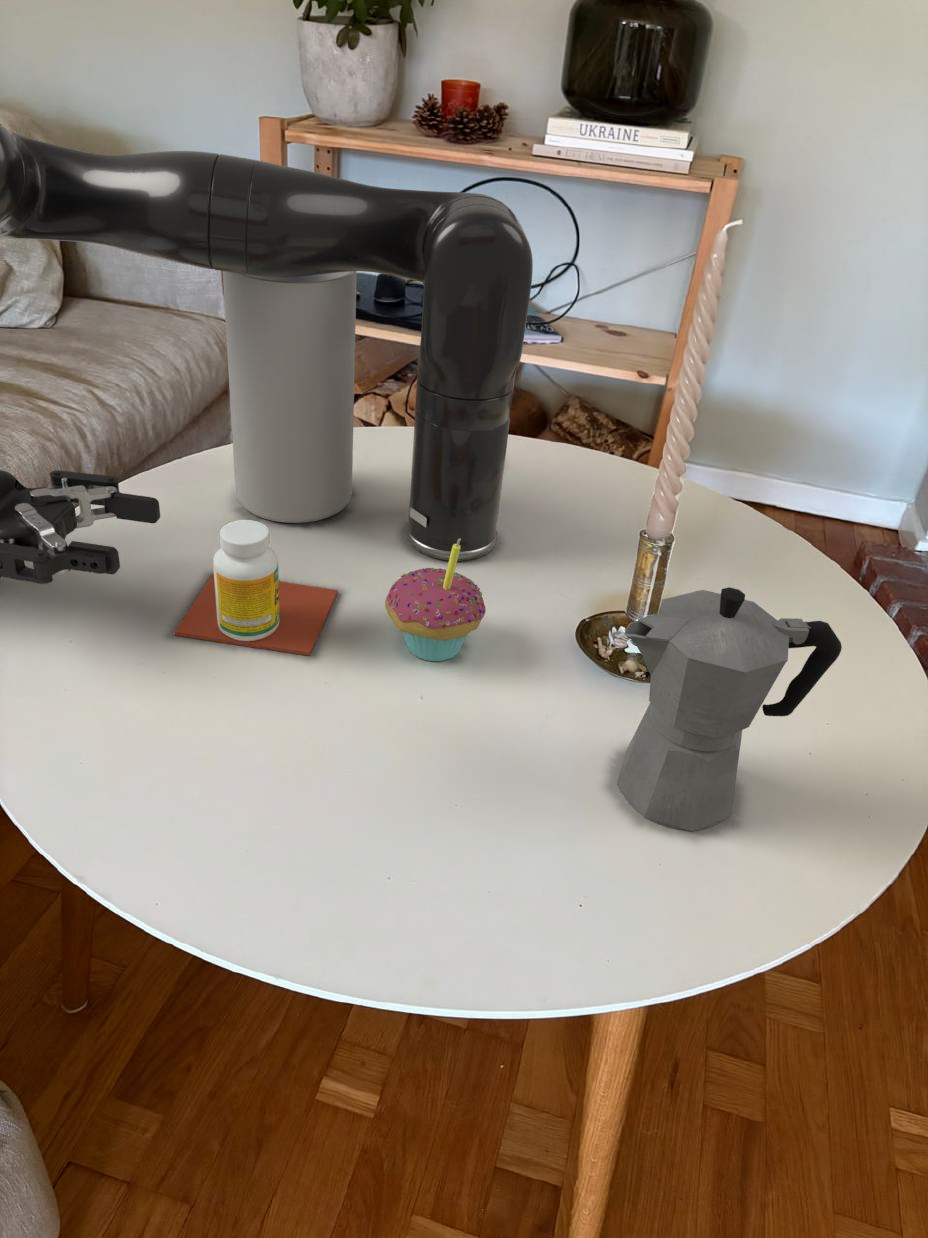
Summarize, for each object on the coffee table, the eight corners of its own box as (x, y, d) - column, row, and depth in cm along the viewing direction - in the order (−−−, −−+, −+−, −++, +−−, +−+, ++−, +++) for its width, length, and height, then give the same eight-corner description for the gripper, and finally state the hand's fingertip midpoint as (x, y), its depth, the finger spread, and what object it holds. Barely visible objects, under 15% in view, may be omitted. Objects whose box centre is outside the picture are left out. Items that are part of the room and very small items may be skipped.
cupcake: (499, 649, 85) (515, 532, 79) (432, 689, 80) (443, 567, 73) (431, 607, 90) (440, 493, 83) (363, 642, 85) (367, 523, 78)
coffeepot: (603, 835, 68) (653, 631, 58) (579, 744, 76) (620, 550, 66) (808, 834, 70) (892, 636, 60) (764, 746, 78) (832, 557, 67)
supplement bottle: (211, 614, 85) (203, 520, 80) (270, 603, 87) (266, 511, 82) (226, 648, 81) (219, 552, 76) (287, 636, 84) (285, 542, 78)
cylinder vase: (261, 464, 111) (252, 238, 96) (365, 482, 109) (372, 256, 95) (217, 514, 101) (199, 270, 86) (331, 534, 99) (333, 290, 85)
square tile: (214, 575, 91) (214, 571, 91) (337, 593, 90) (337, 589, 90) (174, 635, 83) (174, 631, 83) (309, 655, 82) (309, 652, 82)
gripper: (-113, 508, 72) (96, 538, 72) (-14, 432, 84) (166, 457, 83) (-90, 591, 77) (108, 620, 76) (1, 508, 88) (173, 532, 88)
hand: (138, 535), depth 80 cm, fingers open, 8 cm apart
